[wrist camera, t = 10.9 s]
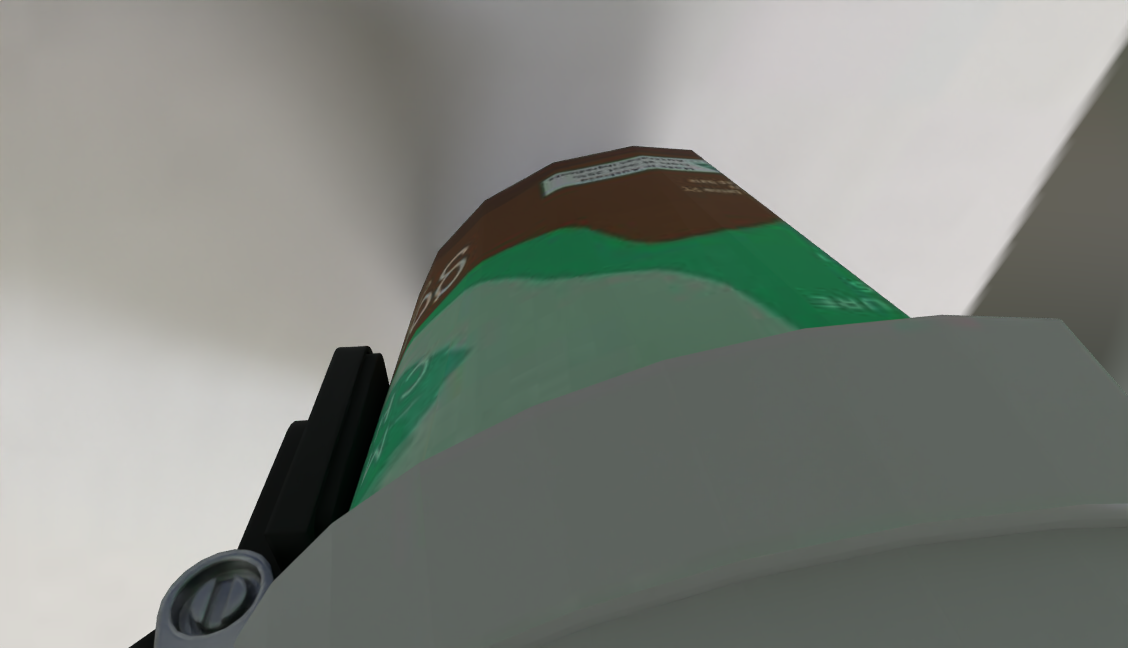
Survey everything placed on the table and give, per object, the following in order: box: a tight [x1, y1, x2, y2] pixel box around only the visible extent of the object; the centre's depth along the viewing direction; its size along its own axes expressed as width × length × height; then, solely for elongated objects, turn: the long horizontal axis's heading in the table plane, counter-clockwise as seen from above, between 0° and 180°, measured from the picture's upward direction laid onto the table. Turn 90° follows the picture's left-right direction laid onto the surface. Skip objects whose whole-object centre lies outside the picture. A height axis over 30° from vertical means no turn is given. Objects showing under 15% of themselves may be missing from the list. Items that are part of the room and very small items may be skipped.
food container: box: [233, 146, 1128, 648], centre depth 10 cm, size 12×6×10 cm, turn 169°
